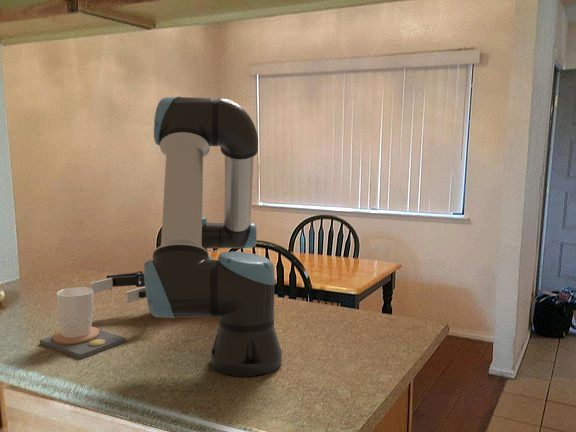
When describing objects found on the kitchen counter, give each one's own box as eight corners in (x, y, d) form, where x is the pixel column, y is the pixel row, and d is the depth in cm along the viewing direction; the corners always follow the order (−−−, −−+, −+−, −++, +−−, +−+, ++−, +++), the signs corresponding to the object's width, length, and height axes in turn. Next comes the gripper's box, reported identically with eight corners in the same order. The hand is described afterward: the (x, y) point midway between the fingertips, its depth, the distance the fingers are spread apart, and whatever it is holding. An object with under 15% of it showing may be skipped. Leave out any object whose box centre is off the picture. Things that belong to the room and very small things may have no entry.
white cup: (97, 326, 125) (96, 286, 124) (90, 338, 117) (88, 295, 116) (63, 327, 124) (61, 287, 122) (53, 340, 116) (51, 296, 115)
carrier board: (125, 341, 120) (125, 334, 120) (80, 359, 110) (80, 351, 110) (85, 329, 128) (85, 322, 128) (39, 343, 118) (39, 336, 118)
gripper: (204, 295, 139) (143, 316, 121) (140, 281, 152) (77, 299, 134) (204, 268, 138) (143, 285, 120) (139, 256, 151) (75, 270, 133)
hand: (108, 292), depth 127 cm, fingers open, 13 cm apart
